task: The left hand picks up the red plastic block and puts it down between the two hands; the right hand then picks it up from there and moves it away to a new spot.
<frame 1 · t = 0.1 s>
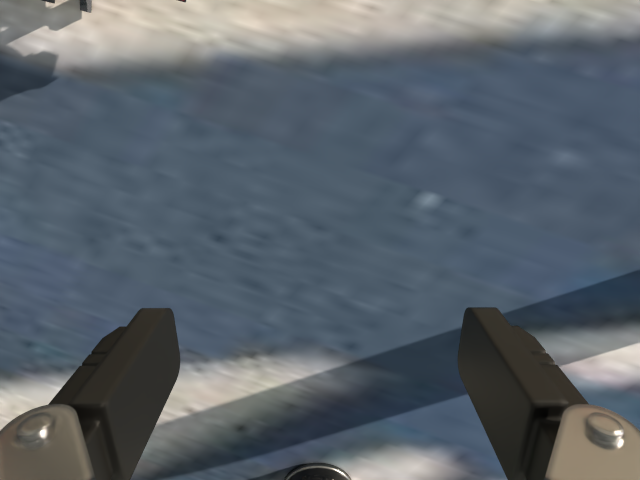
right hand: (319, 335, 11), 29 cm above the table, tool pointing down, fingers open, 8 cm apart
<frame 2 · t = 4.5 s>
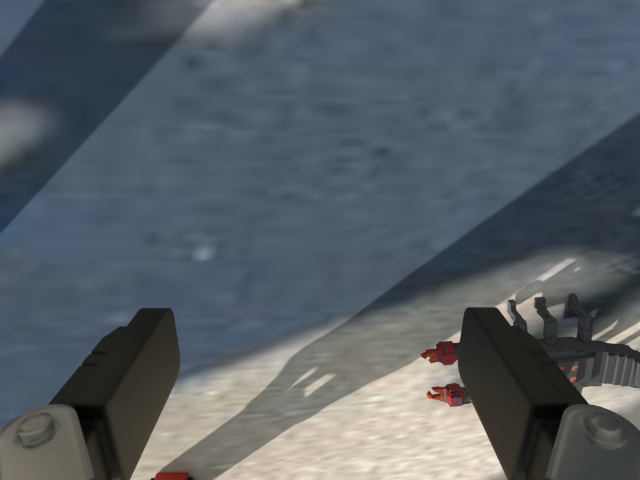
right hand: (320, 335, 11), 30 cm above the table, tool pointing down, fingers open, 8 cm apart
toy: (523, 343, 48), on the table
when the left hand's fingers open (1 cm above the table, at t = 14.6 s): block stays where it is, on the table.
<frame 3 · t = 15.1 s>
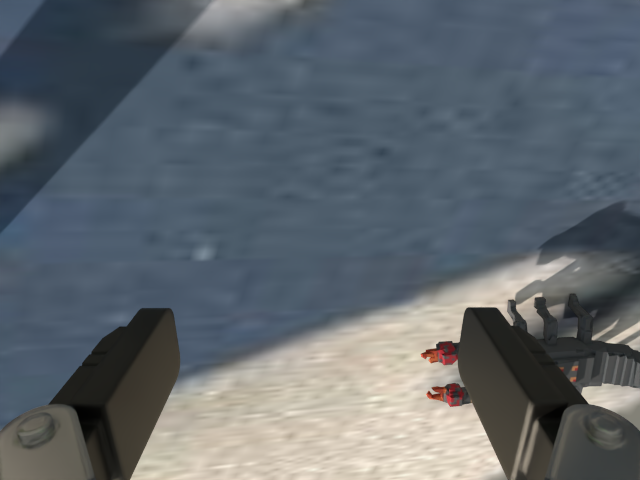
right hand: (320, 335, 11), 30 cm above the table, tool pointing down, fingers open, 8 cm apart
toy: (523, 343, 48), on the table
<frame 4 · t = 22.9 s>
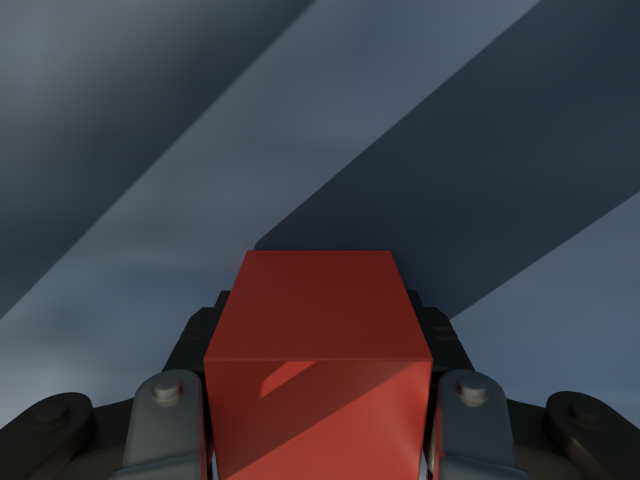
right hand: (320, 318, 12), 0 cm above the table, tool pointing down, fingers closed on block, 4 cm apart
block: (319, 312, 13), on the table, touching right hand
when the right hand's fingers open (1 cm above the table, at t = 32.6 s): block stays where it is, on the table.
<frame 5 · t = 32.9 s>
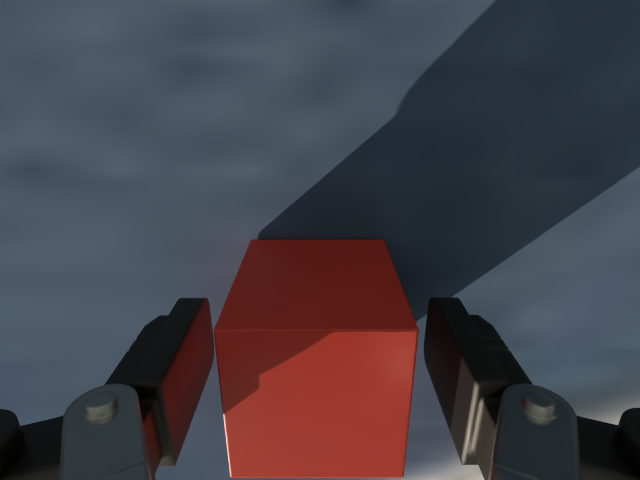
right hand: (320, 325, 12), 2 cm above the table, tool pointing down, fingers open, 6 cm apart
block: (317, 297, 14), on the table
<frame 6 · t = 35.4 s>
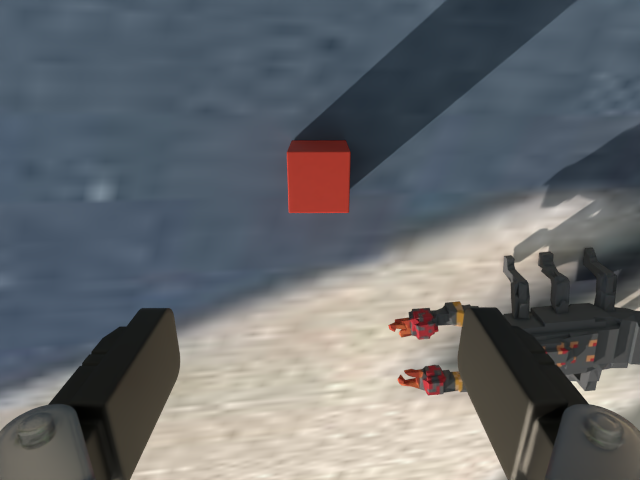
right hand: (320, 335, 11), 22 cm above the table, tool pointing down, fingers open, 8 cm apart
block: (318, 167, 32), on the table
toy: (524, 314, 37), on the table
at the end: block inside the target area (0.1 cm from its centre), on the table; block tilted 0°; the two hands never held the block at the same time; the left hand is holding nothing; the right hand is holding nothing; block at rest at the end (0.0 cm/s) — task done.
